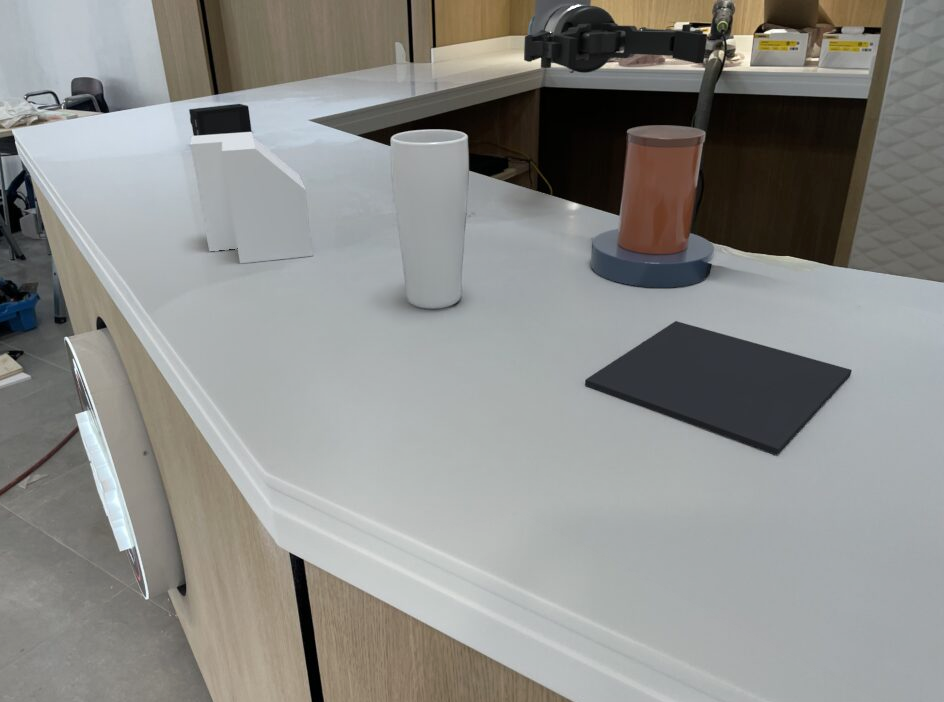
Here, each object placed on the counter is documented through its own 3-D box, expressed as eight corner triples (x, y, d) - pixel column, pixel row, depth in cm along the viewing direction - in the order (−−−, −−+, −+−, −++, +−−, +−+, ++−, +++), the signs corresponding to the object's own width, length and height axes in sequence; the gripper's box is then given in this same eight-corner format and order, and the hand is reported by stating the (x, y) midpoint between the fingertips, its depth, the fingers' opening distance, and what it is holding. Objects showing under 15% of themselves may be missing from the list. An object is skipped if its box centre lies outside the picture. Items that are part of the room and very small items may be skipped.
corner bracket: (210, 238, 89) (191, 135, 83) (303, 229, 91) (292, 128, 85) (208, 266, 79) (188, 153, 74) (312, 255, 82) (300, 145, 76)
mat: (850, 375, 54) (852, 369, 54) (777, 455, 45) (778, 449, 45) (674, 326, 63) (675, 320, 62) (584, 385, 54) (585, 379, 54)
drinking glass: (389, 311, 67) (379, 142, 60) (408, 285, 73) (401, 128, 66) (461, 316, 66) (459, 144, 59) (475, 289, 71) (475, 129, 64)
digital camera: (242, 139, 149) (237, 102, 145) (253, 142, 145) (248, 105, 141) (193, 145, 143) (186, 108, 140) (203, 149, 139) (196, 111, 136)
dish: (730, 264, 76) (734, 241, 75) (675, 297, 68) (679, 272, 67) (627, 242, 83) (630, 220, 82) (567, 270, 76) (569, 246, 74)
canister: (701, 242, 75) (719, 129, 69) (667, 260, 70) (683, 141, 65) (638, 229, 79) (650, 122, 74) (602, 245, 75) (612, 133, 69)
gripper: (671, 66, 96) (748, 85, 78) (483, 73, 94) (516, 94, 76) (678, 2, 92) (761, 6, 74) (484, 8, 91) (519, 13, 72)
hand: (637, 51), depth 75 cm, fingers open, 13 cm apart
